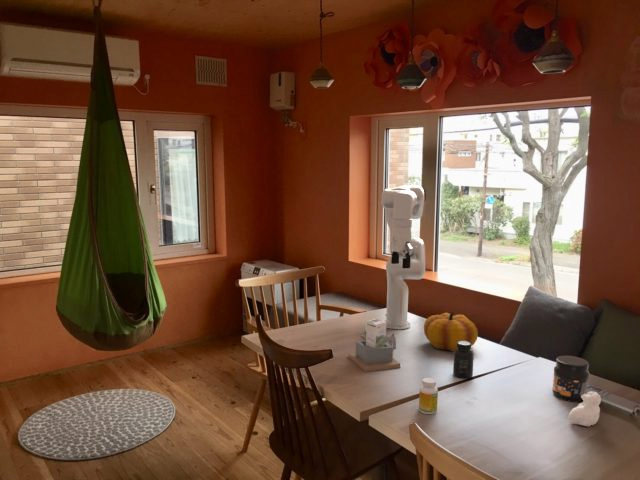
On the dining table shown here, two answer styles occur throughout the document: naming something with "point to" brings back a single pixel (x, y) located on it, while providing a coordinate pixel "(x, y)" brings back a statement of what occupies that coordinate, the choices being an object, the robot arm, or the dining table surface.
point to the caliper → (388, 340)
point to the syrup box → (375, 333)
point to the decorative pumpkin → (449, 330)
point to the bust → (586, 410)
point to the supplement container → (570, 378)
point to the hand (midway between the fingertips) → (400, 265)
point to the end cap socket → (374, 357)
